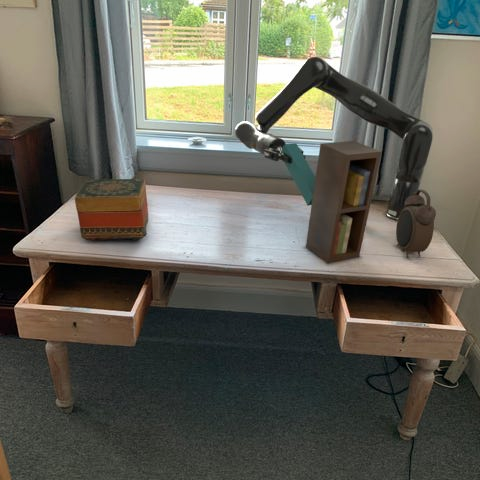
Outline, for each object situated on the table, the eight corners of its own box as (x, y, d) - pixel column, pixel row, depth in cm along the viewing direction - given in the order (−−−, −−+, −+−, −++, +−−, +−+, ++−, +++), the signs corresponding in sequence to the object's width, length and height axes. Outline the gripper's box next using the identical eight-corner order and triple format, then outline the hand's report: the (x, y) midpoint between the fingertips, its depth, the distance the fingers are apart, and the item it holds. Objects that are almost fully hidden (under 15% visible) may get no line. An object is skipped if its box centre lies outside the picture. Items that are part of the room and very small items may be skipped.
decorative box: (142, 252, 145) (145, 198, 137) (69, 241, 144) (67, 187, 135) (154, 228, 163) (157, 180, 154) (88, 219, 161) (88, 169, 153)
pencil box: (279, 154, 160) (284, 144, 156) (291, 153, 162) (296, 143, 158) (307, 205, 152) (313, 196, 149) (319, 203, 154) (325, 194, 151)
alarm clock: (388, 242, 159) (403, 183, 148) (409, 243, 160) (425, 183, 149) (404, 262, 147) (421, 199, 136) (426, 263, 148) (445, 200, 137)
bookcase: (305, 247, 152) (320, 143, 135) (335, 241, 157) (353, 140, 140) (328, 263, 144) (347, 154, 126) (359, 257, 149) (381, 151, 131)
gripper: (253, 136, 163) (280, 149, 151) (289, 134, 169) (317, 146, 157) (252, 158, 167) (277, 173, 155) (286, 155, 173) (314, 169, 161)
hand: (297, 159), depth 156 cm, fingers closed on pencil box, 4 cm apart
